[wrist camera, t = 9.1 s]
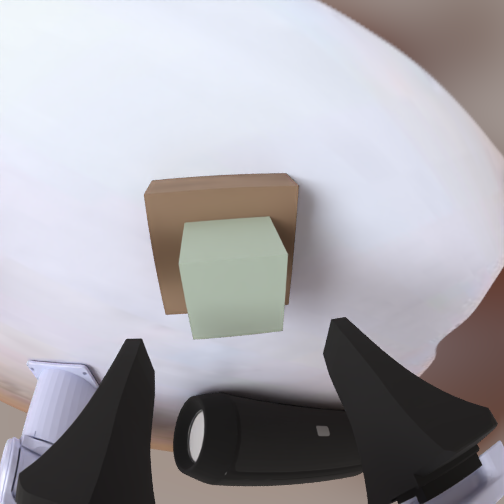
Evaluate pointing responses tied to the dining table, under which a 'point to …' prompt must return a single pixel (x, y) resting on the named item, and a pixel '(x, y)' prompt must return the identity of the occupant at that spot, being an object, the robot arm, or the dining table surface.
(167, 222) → the walnut block
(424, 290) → the dining table surface
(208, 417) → the portable speaker
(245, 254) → the sage cube
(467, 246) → the dining table surface
